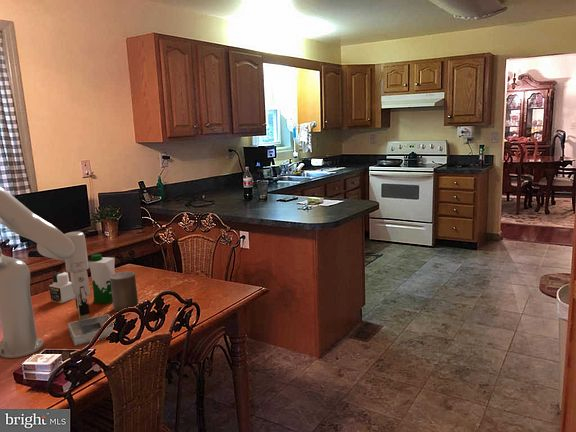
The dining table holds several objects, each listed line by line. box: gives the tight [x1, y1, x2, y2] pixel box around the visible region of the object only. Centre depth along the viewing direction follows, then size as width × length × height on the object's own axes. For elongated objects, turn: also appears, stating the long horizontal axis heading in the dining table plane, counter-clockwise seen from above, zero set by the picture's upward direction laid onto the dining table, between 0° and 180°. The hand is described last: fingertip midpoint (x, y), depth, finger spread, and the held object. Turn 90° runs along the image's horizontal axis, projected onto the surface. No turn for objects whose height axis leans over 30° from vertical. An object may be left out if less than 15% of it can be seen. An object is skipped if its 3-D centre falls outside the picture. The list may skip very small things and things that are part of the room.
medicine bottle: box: [48, 271, 76, 304], centre depth 198 cm, size 7×7×12 cm
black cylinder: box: [77, 295, 90, 321], centre depth 171 cm, size 3×3×12 cm
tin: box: [67, 313, 115, 348], centre depth 164 cm, size 14×14×4 cm
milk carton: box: [88, 253, 116, 305], centre depth 194 cm, size 9×9×20 cm
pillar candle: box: [110, 271, 139, 312], centre depth 187 cm, size 10×10×15 cm
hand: (83, 310), depth 172 cm, fingers open, 7 cm apart
